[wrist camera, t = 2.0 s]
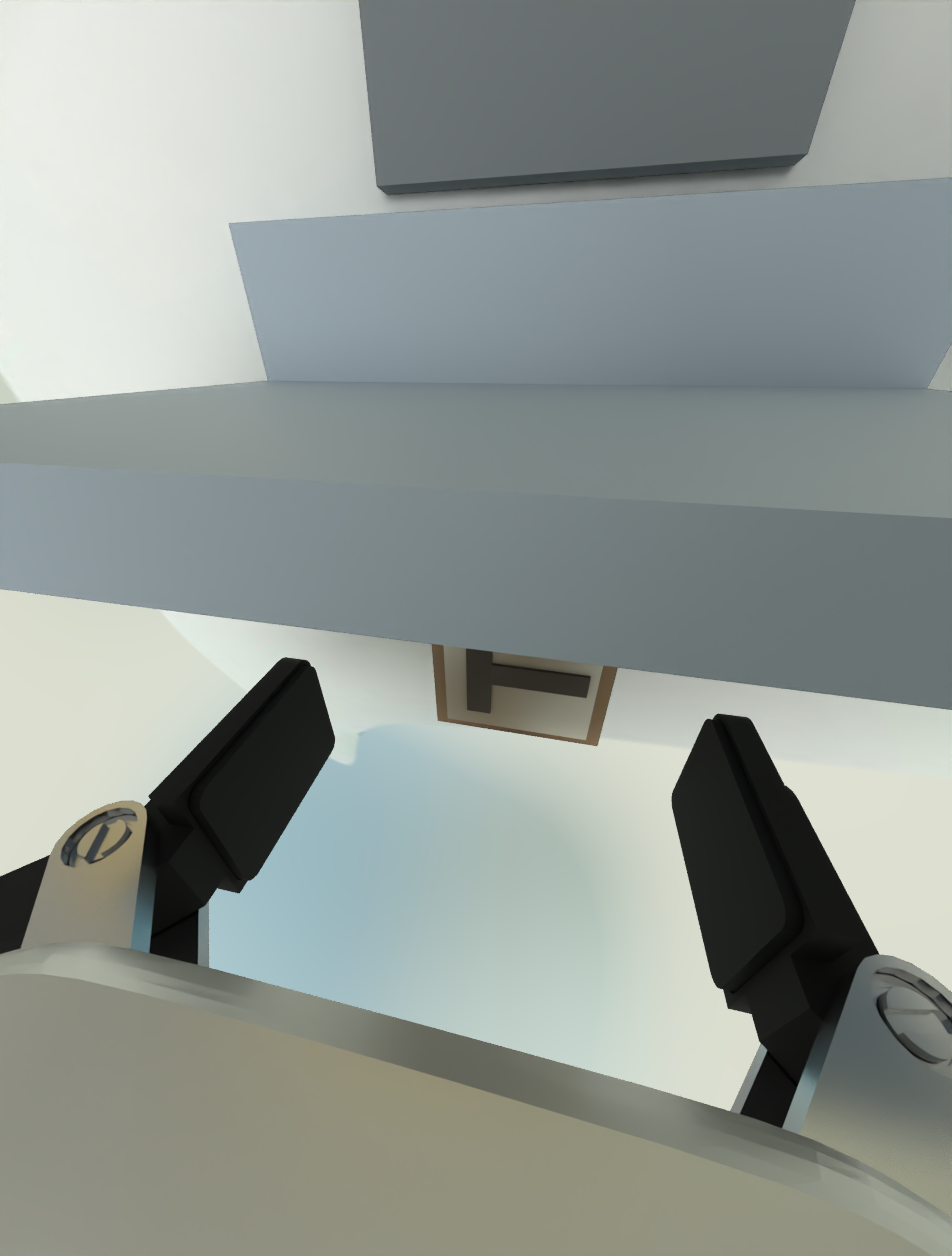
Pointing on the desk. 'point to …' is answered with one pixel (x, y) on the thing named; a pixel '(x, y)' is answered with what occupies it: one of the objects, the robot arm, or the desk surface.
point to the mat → (592, 87)
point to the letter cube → (522, 693)
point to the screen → (548, 442)
